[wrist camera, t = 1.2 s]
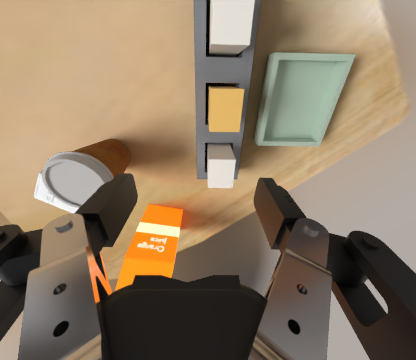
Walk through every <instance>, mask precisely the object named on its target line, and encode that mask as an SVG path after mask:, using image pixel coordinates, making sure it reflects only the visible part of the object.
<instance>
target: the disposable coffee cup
mask: <svg viewBox="0 0 416 360" xmlns="http://www.w3.org/2000/svg"><path fill="white" fill-rule="evenodd" d="M130 160H131V155H130V152H129V150H128V148H127V147H126V146H125V145H124V144H123V143H121V142H119V141H117V140H114V139H107V140H104V141H101V142H98V143H95V144H92V145H89V146H86V147H83V148H80V149H77V150H75V151H72V152H61V153H58V154H55V155H53V156H52V157H50V158H49V159H48V161H47V163H46V165H45V166H44V168H43V170H42V179H43V182H44V185H45V187H46V188H47V189H48V191H49V192H50V193H51V194H52V195H53V196H54V197H56V198H57V199H58V200H60V201H61V202H63V203H65V204H67V205H70V206H72V207H76V208H80V207H81V206H82V205H83V204H84V203H85V202H86V201H87V200H88V199H89V198H90V197H91V195H92V194H93V193H94V192H96V190H97V189H98V188H99V187H100V186H101V185H103V184H105V183H106V182H108V181H111V180H112V179H113V178H114V177H115V176H116V175H117V174H118V173H124V171H125V169H126V168H127V166H128V164H129V162H130Z"/></svg>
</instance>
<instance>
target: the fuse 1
mask: <svg viewBox="0 0 416 360" xmlns="http://www.w3.org/2000/svg"><path fill="white" fill-rule="evenodd" d="M254 3H255V0H210V19H209V56H227V57H235V56H236V55H237V54H239V53H240V52H241V51H243V50H244V49H245V48H246V47H248V46H249V45H250V37H251V28H252V20H253V11H254Z"/></svg>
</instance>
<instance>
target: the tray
mask: <svg viewBox="0 0 416 360" xmlns="http://www.w3.org/2000/svg"><path fill="white" fill-rule="evenodd" d="M355 55H356V54H321V53H282V52H275V53H272V54H269V55H268V58H267V63H266V69H265V75H264V81H263V87H262V93H261V99H260V105H259V111H258V117H257V123H256V129H255V135H254V142H255V143H256V144H257V145H258V146H320V144H321V142H322V139H323V136H324V134H325V131H326V129H327V126H328V124H329V121H330V119H331V116H332V114H333V111H334V109H335V106H336V104H337V101H338V98H339V96H340V93H341V91H342V88H343V86H344V83H345V81H346V78H347V76H348V73H349V71H350V68H351V65H352V63H353V60H354V58H355Z"/></svg>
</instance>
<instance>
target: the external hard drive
mask: <svg viewBox="0 0 416 360" xmlns="http://www.w3.org/2000/svg"><path fill="white" fill-rule="evenodd" d="M34 198H36V199H39V200H42V201H44V202H46V203H49V204H51V205H54V206H56V207H59V208H61V209H64V210H66V211H69V212H71V213H73V214H74V213H75V212H76V211H77V210H78V209H79V208H76V207H72V206H70V205H67V204H65V203H63V202H61V201H60V200H58V199H57V198H56V197H54V196H53V195H52V194H51V193H50V192H49V191H48V189H47V188H46V187H45V185H44V182H43V179H42V172H40V173H39V174H38V179H37V184H36V188H35V193H34Z"/></svg>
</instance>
